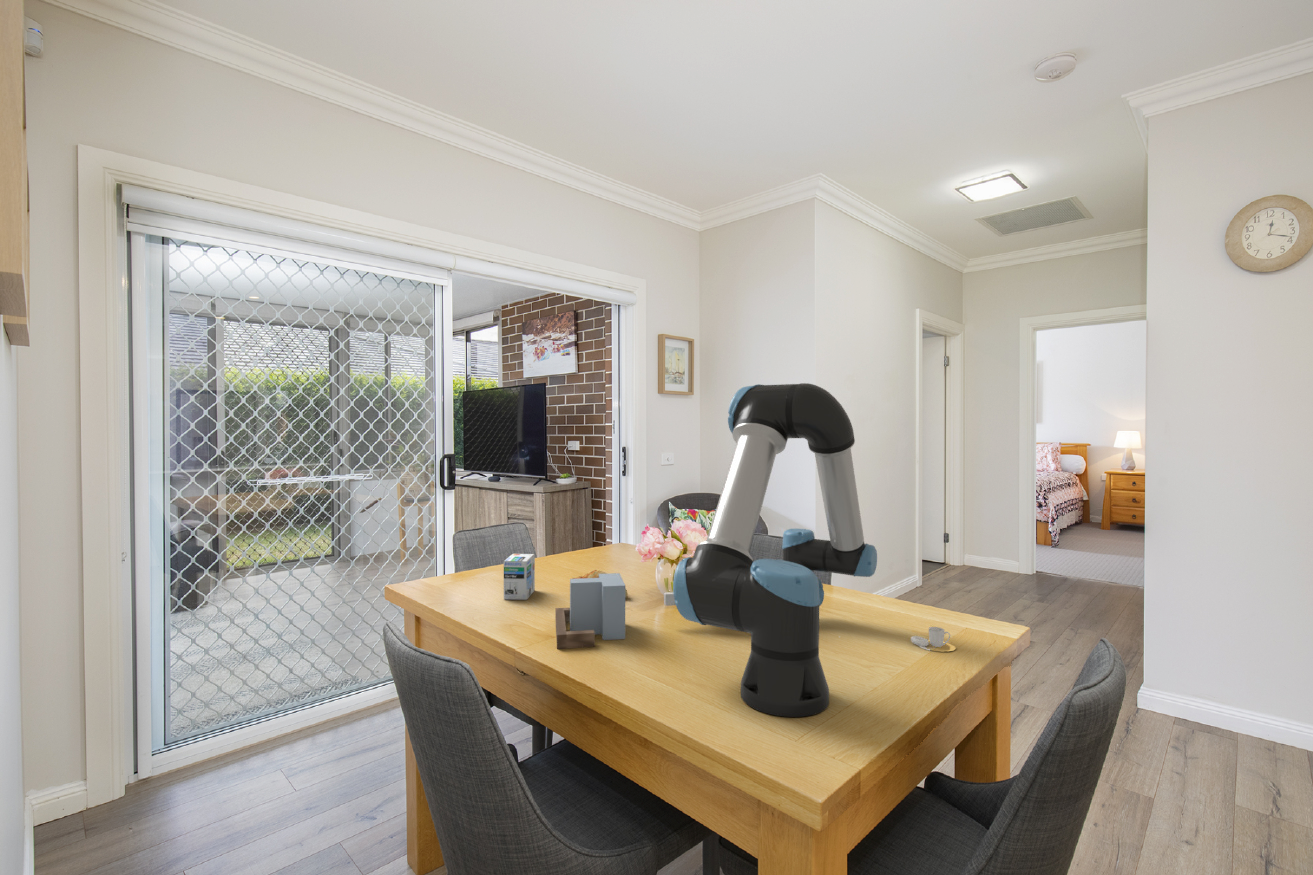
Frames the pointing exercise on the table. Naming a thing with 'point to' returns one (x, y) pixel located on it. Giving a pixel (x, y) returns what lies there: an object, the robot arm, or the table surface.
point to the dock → (571, 632)
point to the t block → (598, 605)
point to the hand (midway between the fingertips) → (664, 599)
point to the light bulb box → (519, 576)
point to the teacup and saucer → (931, 638)
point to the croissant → (596, 575)
